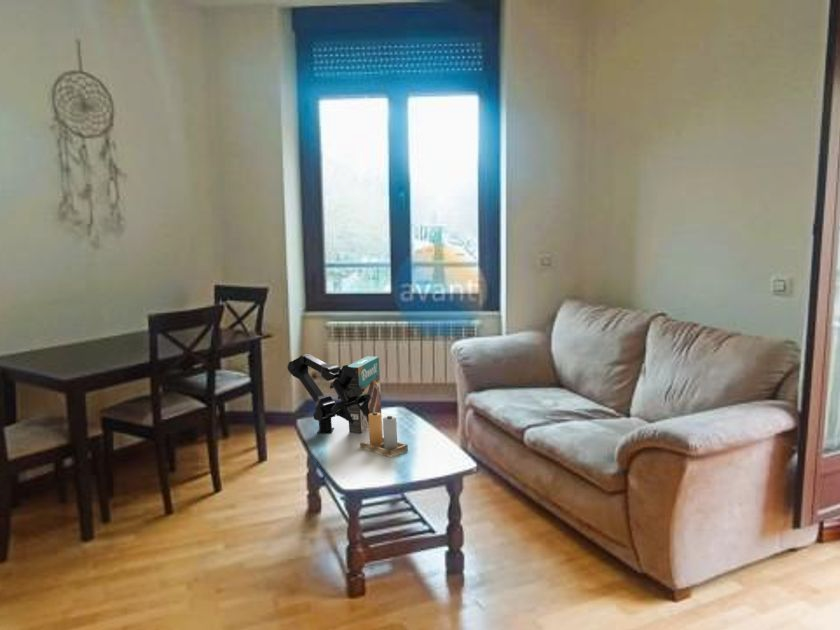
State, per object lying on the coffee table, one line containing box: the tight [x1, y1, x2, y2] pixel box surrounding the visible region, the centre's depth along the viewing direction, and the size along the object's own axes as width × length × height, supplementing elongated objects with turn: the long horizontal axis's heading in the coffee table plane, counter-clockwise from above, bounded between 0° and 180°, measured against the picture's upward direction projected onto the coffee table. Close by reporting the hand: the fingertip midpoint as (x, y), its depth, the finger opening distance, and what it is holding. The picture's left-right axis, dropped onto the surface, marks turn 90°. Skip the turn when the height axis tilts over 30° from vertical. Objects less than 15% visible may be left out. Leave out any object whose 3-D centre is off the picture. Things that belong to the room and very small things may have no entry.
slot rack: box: [359, 437, 409, 459], centre depth 280 cm, size 18×10×2 cm, turn 47°
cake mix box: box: [347, 355, 382, 435], centre depth 310 cm, size 22×6×30 cm, turn 159°
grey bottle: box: [382, 415, 398, 450], centre depth 276 cm, size 5×5×14 cm
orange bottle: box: [368, 412, 384, 446], centre depth 282 cm, size 5×5×14 cm
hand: (361, 420), depth 287 cm, fingers open, 9 cm apart
